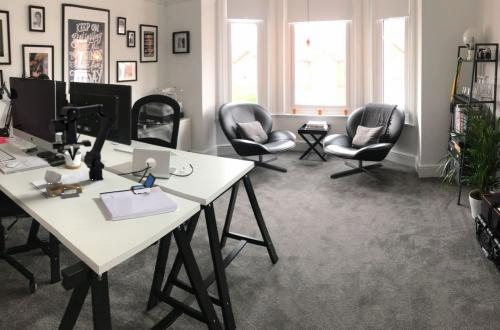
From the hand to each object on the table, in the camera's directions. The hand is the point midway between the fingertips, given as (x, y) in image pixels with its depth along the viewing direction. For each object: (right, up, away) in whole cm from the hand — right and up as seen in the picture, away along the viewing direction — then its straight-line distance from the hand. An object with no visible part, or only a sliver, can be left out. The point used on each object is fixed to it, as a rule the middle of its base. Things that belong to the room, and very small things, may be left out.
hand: (73, 160), depth 227 cm
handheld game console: (+38, -16, -5) cm, 42 cm away
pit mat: (+5, -17, -17) cm, 25 cm away
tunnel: (0, -16, -10) cm, 19 cm away
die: (-12, -13, +3) cm, 18 cm away
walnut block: (-3, -16, -12) cm, 21 cm away
